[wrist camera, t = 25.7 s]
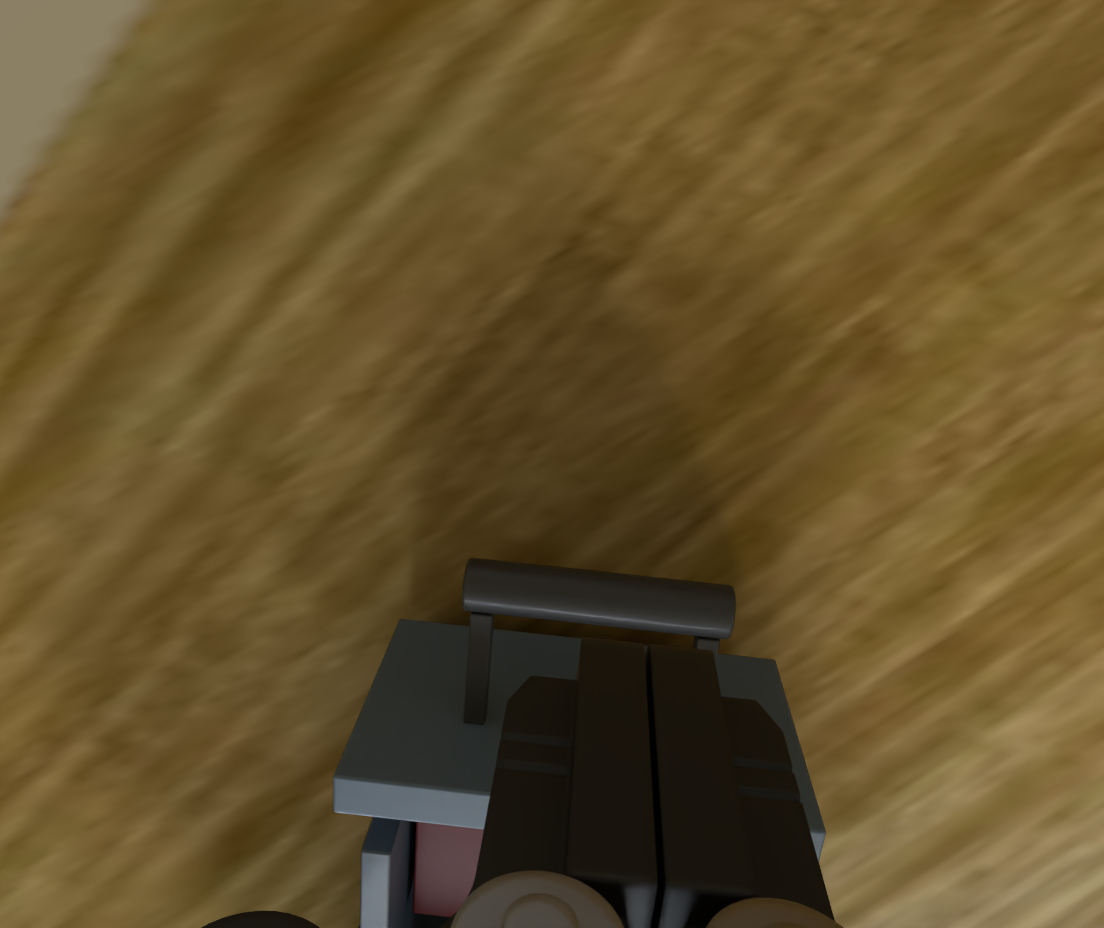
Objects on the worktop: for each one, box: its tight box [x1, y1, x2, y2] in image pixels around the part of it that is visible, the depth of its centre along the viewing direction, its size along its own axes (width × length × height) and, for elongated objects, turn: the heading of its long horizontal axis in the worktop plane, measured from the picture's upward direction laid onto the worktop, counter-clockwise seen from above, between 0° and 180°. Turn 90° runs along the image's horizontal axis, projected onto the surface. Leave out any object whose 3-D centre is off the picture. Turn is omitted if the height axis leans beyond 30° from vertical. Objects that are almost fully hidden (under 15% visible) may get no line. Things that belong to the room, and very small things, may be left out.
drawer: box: [333, 558, 826, 928], centre depth 28 cm, size 18×12×8 cm
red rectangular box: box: [413, 822, 484, 917], centre depth 29 cm, size 9×4×4 cm, turn 85°
